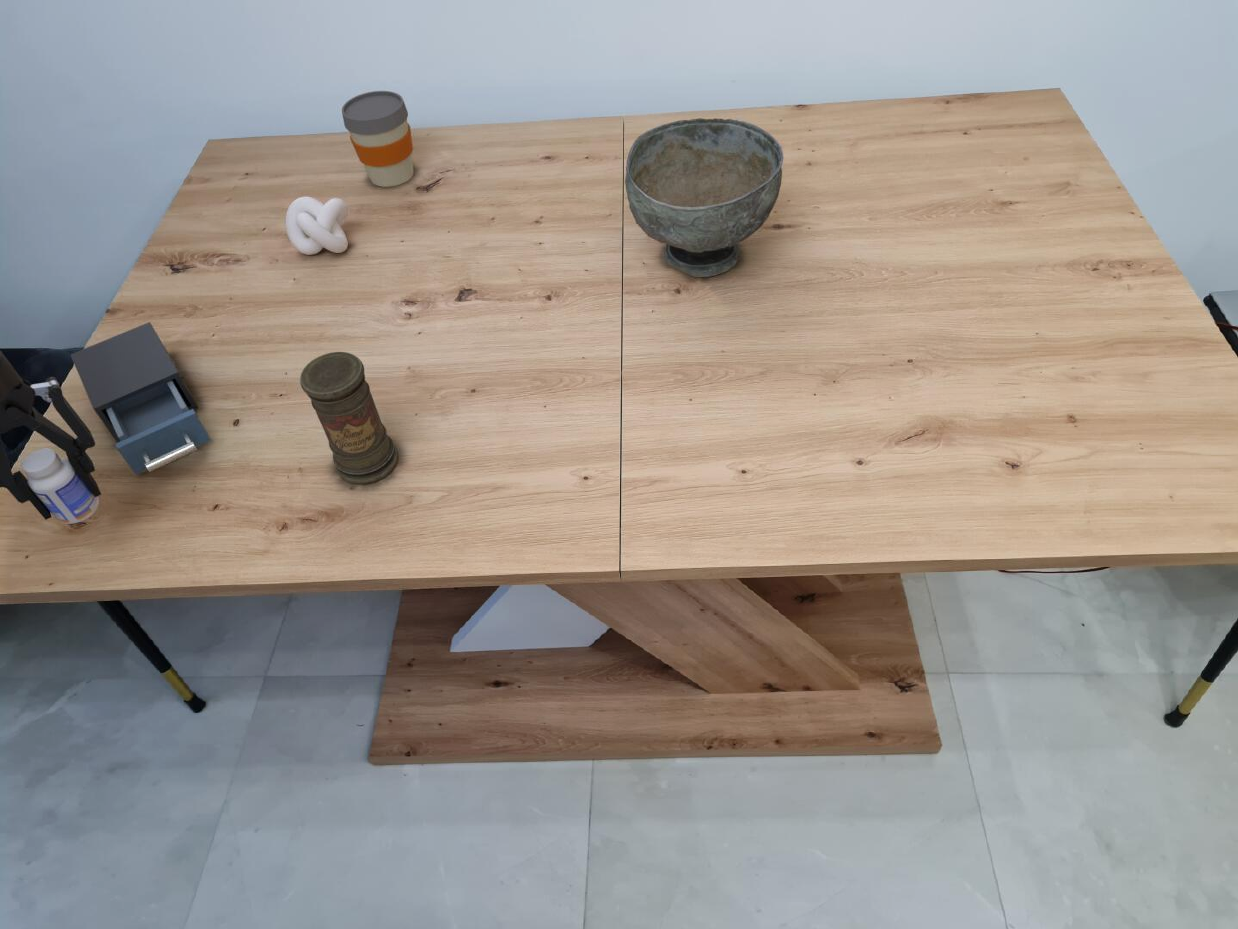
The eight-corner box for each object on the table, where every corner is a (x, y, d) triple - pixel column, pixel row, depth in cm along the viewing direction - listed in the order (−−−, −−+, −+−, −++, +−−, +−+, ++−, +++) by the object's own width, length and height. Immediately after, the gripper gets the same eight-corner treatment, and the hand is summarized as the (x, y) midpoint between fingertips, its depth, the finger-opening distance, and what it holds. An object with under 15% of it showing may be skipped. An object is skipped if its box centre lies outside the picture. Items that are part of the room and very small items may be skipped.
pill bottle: (101, 489, 119) (64, 438, 112) (98, 519, 116) (60, 468, 109) (58, 500, 119) (18, 449, 111) (54, 530, 115) (12, 480, 108)
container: (331, 453, 134) (290, 362, 120) (389, 432, 136) (355, 341, 123) (344, 494, 128) (303, 404, 115) (405, 472, 130) (371, 380, 117)
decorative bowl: (721, 195, 172) (721, 96, 157) (809, 261, 157) (819, 158, 142) (604, 250, 164) (592, 151, 149) (686, 324, 150) (682, 223, 134)
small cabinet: (198, 407, 143) (177, 372, 137) (118, 444, 138) (93, 408, 133) (170, 356, 152) (149, 321, 146) (94, 389, 147) (70, 354, 142)
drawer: (221, 458, 133) (205, 431, 129) (144, 494, 130) (125, 468, 125) (183, 388, 145) (167, 361, 140) (111, 420, 141) (92, 393, 136)
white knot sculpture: (366, 253, 168) (352, 211, 161) (302, 273, 165) (286, 231, 158) (351, 224, 175) (337, 182, 168) (290, 242, 172) (274, 201, 166)
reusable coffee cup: (372, 198, 181) (351, 127, 170) (354, 171, 189) (332, 102, 177) (431, 178, 184) (413, 108, 173) (410, 152, 192) (392, 84, 181)
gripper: (-126, 421, 93) (0, 554, 110) (59, 348, 100) (151, 485, 117) (-133, 382, 98) (-10, 516, 115) (45, 314, 104) (135, 451, 121)
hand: (71, 500), depth 116 cm, fingers closed on pill bottle, 5 cm apart
